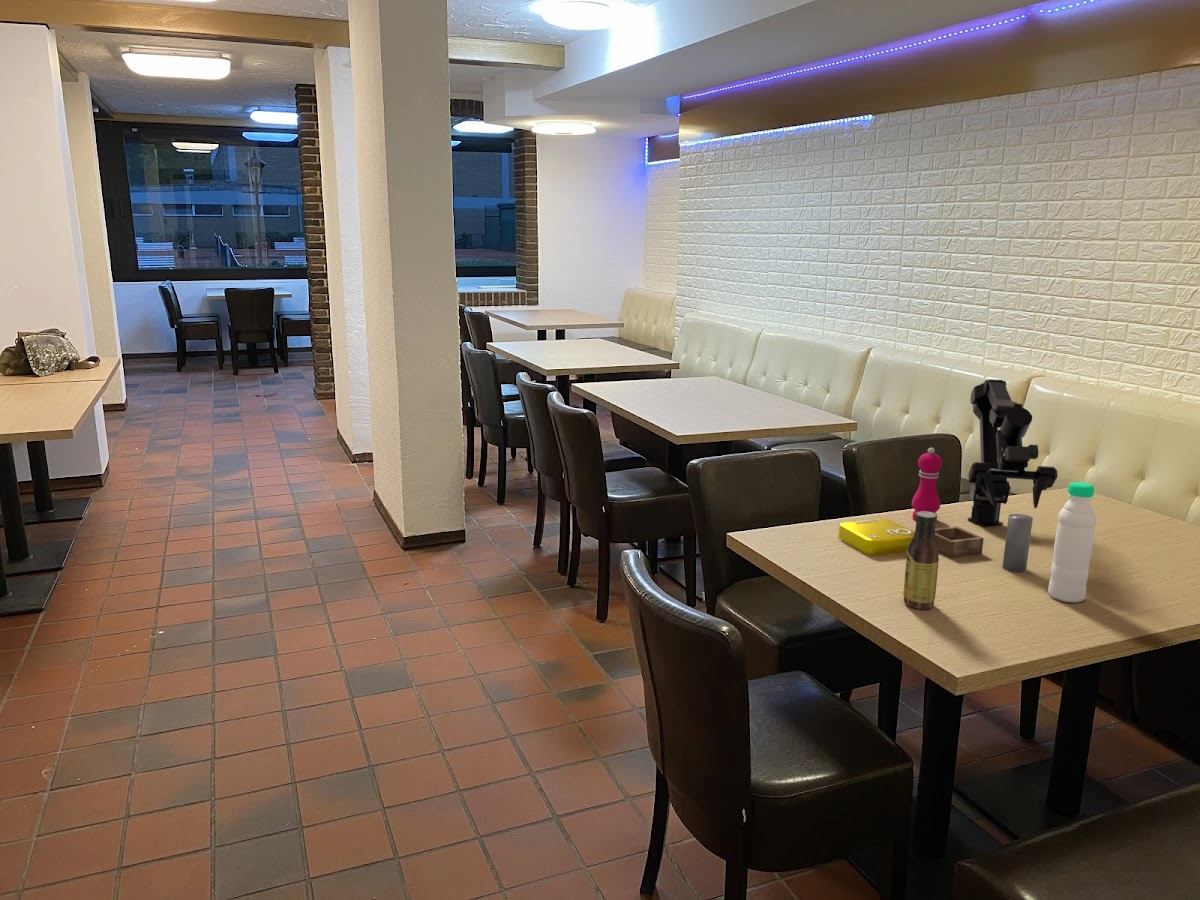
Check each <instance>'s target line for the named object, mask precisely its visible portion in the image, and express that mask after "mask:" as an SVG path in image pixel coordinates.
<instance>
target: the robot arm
mask: <svg viewBox="0 0 1200 900" xmlns="http://www.w3.org/2000/svg"><path fill="white" fill-rule="evenodd" d="M969 400H970V404H971V405H972V412H973V414H974V415H975V416H976V418H977V419H978V420H979V440H980V441H979V443H980V445H979V446H980V447H979V448H980V462H978V461H974V462H973V463H972V464H971V466H970V468H969V471H968V475H967V476H968V483H970V484H971V486H970V489H969V498H970V500H971V502H972V503H973V505H972V506H971V514H970V515H971V516H970V517H967V521H969V522H972V523H973V524H974V523H975V524H976V525H978V526H981V527H983V528H984V527H986V526H987V527H992V526H993V527H994V526H995V527H996V526H1002V525H1003V524H1004V522H1002V521H1000V515H1001V506H1002V504H1004V505H1005V504H1007V503H1008V499H1009V495H1010V492H1011V489H1012V487H1011V485H1010V483H1009V480H1008V479H1013V480H1015V479H1016V480H1030V481H1033V487H1032V504H1033V507H1034V509H1037V508H1038V506H1039V502H1040V500H1041V495H1042V491H1047V489H1048V488H1049V489H1050V488H1052V487H1053V486H1054V484H1055V481H1056V480H1057V478H1058V475H1059V474H1058V470H1057V469H1056V468H1055V466H1045V465H1037V468H1036V470H1035V471H1032V470H1026V468H1028V467H1029V462H1030V461H1031V460H1036V459H1038V458H1039V445H1038V444H1029V445H1028V446H1023V438H1024V437H1025V436H1026V434H1027V432H1028V429H1029V428H1030V426H1031V423H1032V420H1033V415H1032V413H1031V412H1030V411H1029V410H1028V409H1026V408H1024V407H1023V404H1022V403H1018V402H1016V401H1013V400H1012V398H1011V396H1010V394H1009V391H1008V388H1007V381H1006V380H1003V379H994V378H993V379H990V378H989V379H985V380H984V382H983V383H980V384H979V385H976V386H974V387H973V388H972V391H971V393H970V399H969Z"/></svg>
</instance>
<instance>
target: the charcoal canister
mask: <svg viewBox="0 0 1200 900" xmlns="http://www.w3.org/2000/svg"><path fill="white" fill-rule="evenodd" d="M1007 519H1008V521H1007V526H1006V534H1005V544H1004V549H1003V550H1004V551H1003V560H1002V569H1003V570H1005V571H1007V570H1008V572H1011V573H1016V572H1017V573H1025V572H1026V571H1027V566H1028V559H1029V551H1030V542H1031V536H1032V535H1031V534H1032V527H1033V517H1032V516H1031V515H1027V514H1022V513H1010V514H1008V518H1007ZM1017 573H1016V574H1017Z"/></svg>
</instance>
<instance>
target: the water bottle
mask: <svg viewBox="0 0 1200 900" xmlns="http://www.w3.org/2000/svg"><path fill="white" fill-rule="evenodd" d="M1067 493H1068V494H1067V495H1068V498H1069V499H1068V500H1067V502H1065V504H1064V506H1063V507H1062V509H1060V511H1059V513H1058V516H1057V519H1058V523H1057V528H1056V531H1055V532H1056V533H1055V537H1054V538H1055V539H1054V545H1053V556H1052V557H1053V561H1052V564H1051V568H1050V580H1049V583H1048V589H1047V590H1048V591H1047V592H1048V595H1049V596H1050V597H1052V598H1053V599H1055V600H1057V601H1060V602H1065V603H1070V604H1071V603H1072V604H1074V603H1075V604H1076V603H1081V602H1083V601H1084V600H1085V598H1086V595H1087V582H1088V578H1089V566H1090V562H1091V557H1092V552H1093V545H1094V539H1095V538H1094V536H1095V527H1096V524H1097V517H1096V516H1097V515H1096V514H1095V511H1094V507H1093V506H1092V503H1091V500H1092V499H1093V496H1094V494H1095V486H1093V484H1091V483H1087V482H1082V481H1079V482H1078V481H1076V482H1075V481H1074V482H1070V483H1069V484H1068V487H1067Z"/></svg>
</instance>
